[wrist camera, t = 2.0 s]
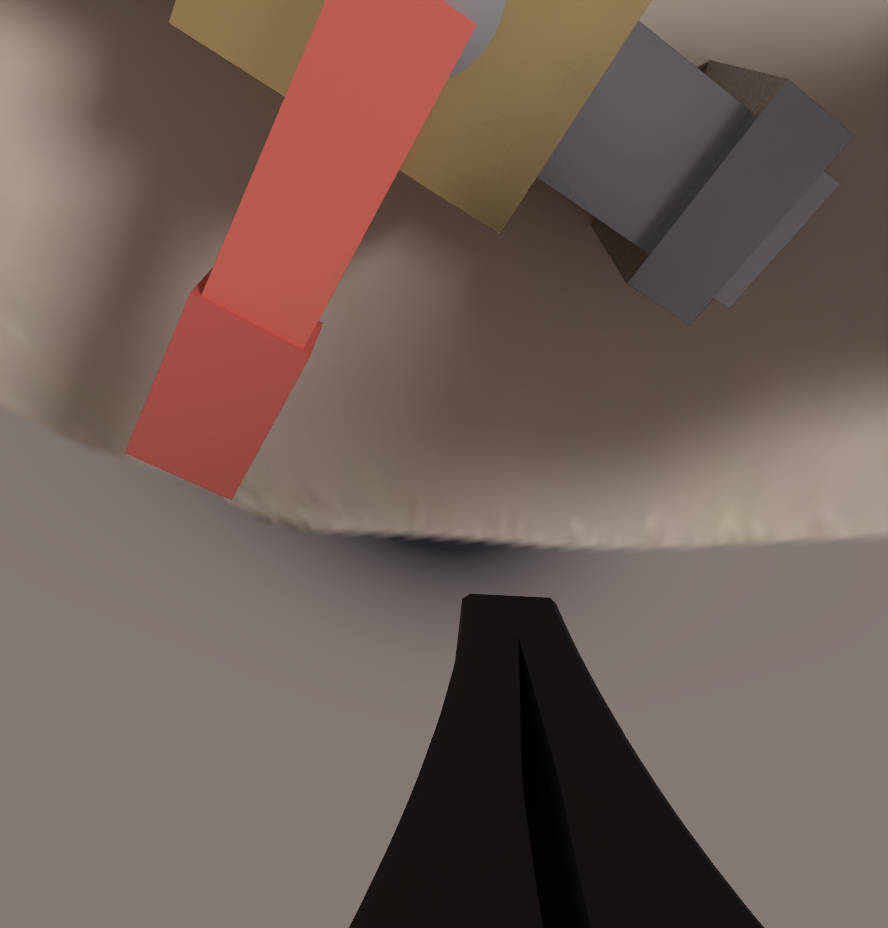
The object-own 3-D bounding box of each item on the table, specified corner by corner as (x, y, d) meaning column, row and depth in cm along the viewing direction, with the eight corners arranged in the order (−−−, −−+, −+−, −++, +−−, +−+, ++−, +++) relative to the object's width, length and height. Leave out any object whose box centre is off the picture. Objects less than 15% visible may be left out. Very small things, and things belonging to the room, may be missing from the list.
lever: (387, -174, 9) (377, -201, 8) (538, -53, 9) (551, -60, 8) (146, 408, 14) (117, 448, 13) (256, 460, 14) (238, 503, 13)
